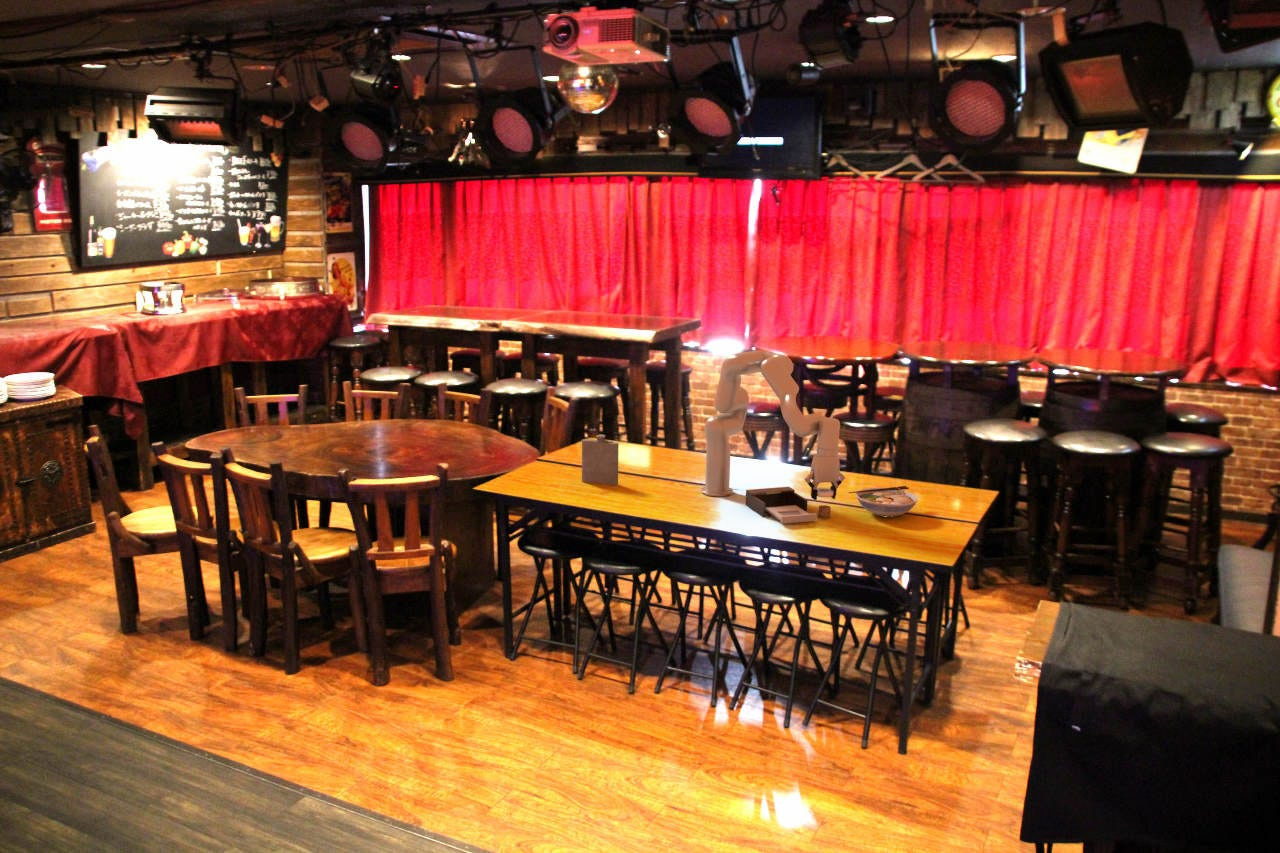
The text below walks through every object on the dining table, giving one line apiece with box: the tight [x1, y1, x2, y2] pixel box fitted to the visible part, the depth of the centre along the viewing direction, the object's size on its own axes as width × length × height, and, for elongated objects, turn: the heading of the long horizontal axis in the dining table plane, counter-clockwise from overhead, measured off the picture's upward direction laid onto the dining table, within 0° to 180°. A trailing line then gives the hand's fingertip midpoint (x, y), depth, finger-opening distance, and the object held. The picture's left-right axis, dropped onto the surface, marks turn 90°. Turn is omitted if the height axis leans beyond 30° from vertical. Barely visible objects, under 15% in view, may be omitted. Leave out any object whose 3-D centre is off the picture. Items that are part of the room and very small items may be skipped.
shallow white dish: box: [816, 486, 833, 498], centre depth 385 cm, size 7×7×2 cm
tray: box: [765, 505, 818, 524], centre depth 384 cm, size 16×14×2 cm
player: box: [745, 486, 808, 518], centre depth 395 cm, size 16×18×6 cm
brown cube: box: [817, 504, 832, 520], centre depth 386 cm, size 4×4×4 cm
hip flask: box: [581, 434, 620, 487], centre depth 426 cm, size 16×4×20 cm, turn 68°
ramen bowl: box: [848, 485, 919, 518], centre depth 390 cm, size 25×23×8 cm
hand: (823, 498), depth 385 cm, fingers closed on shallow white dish, 6 cm apart
